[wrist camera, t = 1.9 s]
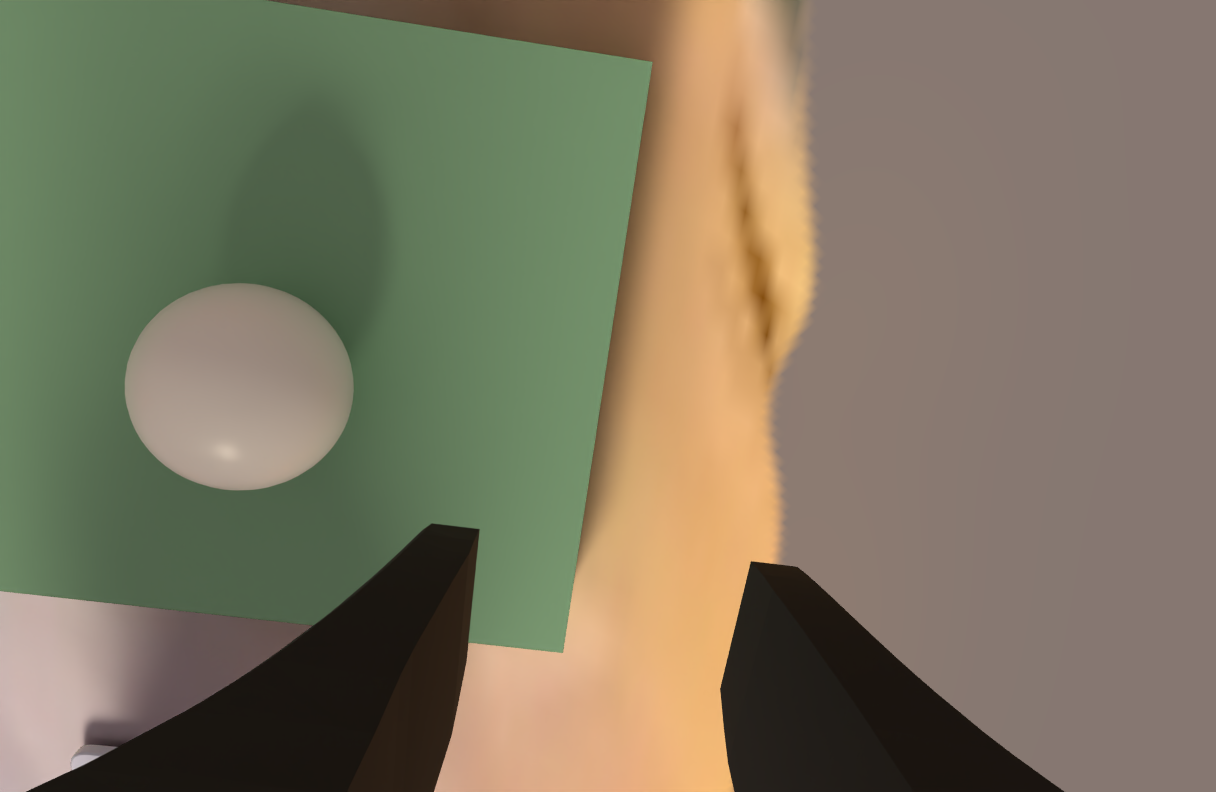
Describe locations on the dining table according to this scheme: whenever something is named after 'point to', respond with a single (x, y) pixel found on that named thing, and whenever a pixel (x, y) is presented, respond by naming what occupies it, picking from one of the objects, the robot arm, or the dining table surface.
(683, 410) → the dining table surface
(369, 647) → the robot arm
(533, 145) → the green mini golf board
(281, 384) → the ball
